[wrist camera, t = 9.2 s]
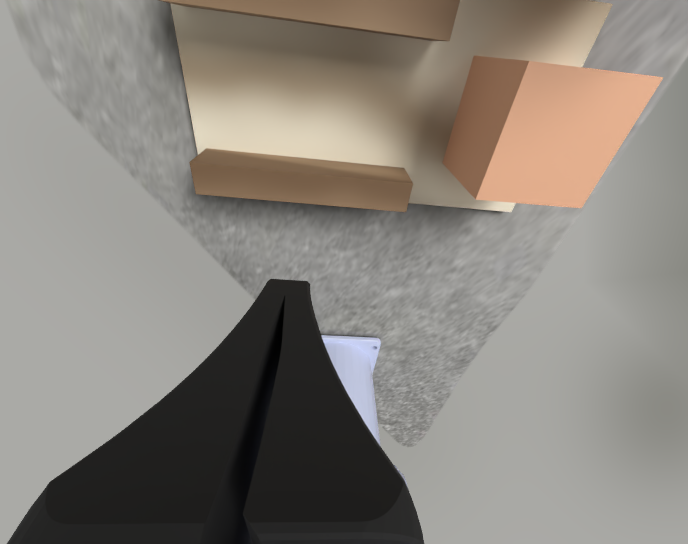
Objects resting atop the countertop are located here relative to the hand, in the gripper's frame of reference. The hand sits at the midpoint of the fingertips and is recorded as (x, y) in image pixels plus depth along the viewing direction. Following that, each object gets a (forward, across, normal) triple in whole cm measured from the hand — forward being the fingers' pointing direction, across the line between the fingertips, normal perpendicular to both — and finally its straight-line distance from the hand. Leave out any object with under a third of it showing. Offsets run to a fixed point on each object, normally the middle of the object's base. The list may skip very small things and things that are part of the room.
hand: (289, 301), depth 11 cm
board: (+10, -3, -5) cm, 12 cm away
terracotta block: (+9, -10, -5) cm, 15 cm away
